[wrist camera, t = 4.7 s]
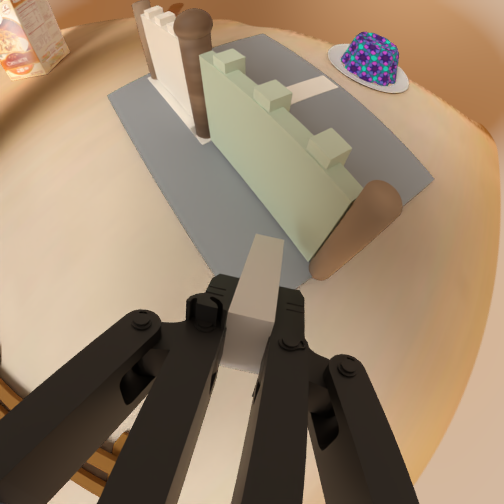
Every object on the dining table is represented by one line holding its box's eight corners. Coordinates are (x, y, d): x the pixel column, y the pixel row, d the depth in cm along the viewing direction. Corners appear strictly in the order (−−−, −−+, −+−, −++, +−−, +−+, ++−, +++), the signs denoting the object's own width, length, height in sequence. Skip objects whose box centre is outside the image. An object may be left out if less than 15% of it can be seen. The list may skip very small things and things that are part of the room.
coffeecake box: (10, 82, 31) (-25, 21, 13) (32, 59, 34) (2, -1, 15) (46, 75, 30) (6, -4, 12) (71, 51, 32) (40, -26, 14)
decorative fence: (140, 521, 14) (159, 444, 17) (133, 532, 12) (152, 452, 15) (-32, 393, 16) (-24, 320, 19) (-43, 393, 14) (-36, 318, 17)
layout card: (108, 97, 27) (106, 94, 26) (263, 35, 31) (263, 33, 31) (246, 322, 19) (246, 322, 19) (432, 180, 24) (435, 178, 23)
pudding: (420, 103, 28) (436, 76, 23) (342, 91, 28) (353, 57, 23) (386, 54, 32) (396, 30, 27) (316, 43, 32) (322, 15, 27)
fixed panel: (150, 78, 28) (129, 4, 17) (164, 72, 28) (147, -3, 17) (192, 128, 25) (173, 30, 14) (209, 120, 25) (197, 22, 15)
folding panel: (207, 141, 23) (191, 42, 13) (225, 132, 24) (217, 34, 14) (318, 285, 20) (384, 228, 10) (338, 270, 20) (411, 205, 10)
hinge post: (190, 131, 25) (164, 11, 12) (213, 120, 25) (200, 1, 13) (202, 148, 24) (180, 20, 12) (227, 135, 25) (219, 9, 12)
